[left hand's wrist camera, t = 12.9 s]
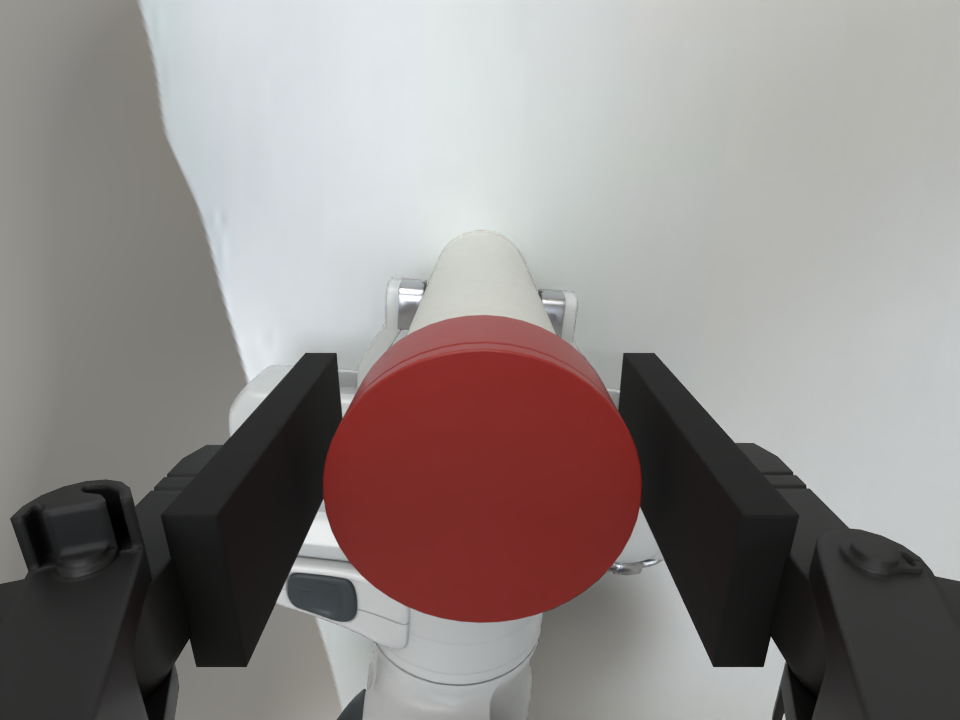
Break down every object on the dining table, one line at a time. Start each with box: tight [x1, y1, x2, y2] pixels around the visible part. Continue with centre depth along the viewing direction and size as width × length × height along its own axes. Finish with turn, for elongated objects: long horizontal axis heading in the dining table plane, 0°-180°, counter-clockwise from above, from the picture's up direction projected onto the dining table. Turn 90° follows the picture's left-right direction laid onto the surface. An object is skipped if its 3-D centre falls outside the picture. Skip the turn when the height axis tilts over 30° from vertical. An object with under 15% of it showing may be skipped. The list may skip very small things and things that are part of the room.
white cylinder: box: [406, 231, 556, 336], centre depth 20 cm, size 5×5×20 cm
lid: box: [323, 315, 642, 623], centre depth 11 cm, size 6×6×2 cm
